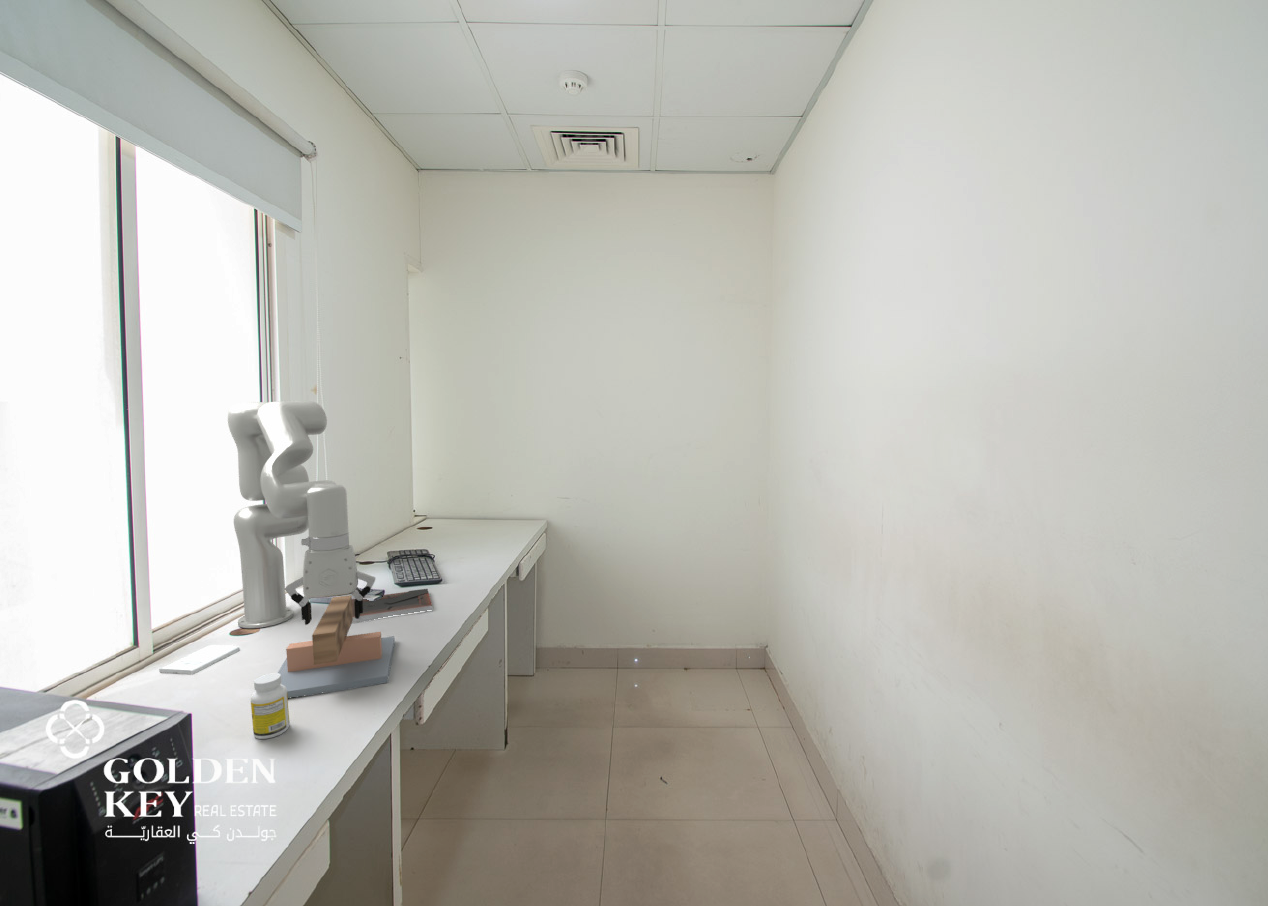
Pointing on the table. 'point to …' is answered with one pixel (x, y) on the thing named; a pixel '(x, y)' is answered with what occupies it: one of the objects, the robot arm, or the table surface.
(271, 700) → the supplement bottle
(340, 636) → the walnut beam
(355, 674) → the ridge board
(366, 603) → the picture frame
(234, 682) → the table surface
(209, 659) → the external hard drive
